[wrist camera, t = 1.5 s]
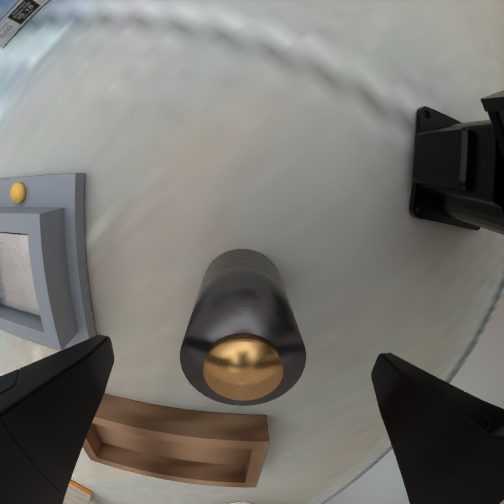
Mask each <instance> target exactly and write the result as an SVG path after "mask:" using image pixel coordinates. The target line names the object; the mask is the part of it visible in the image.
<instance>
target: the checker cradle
mask: <svg viewBox="0 0 504 504" xmlns="http://www.w3.org/2000/svg"><path fill="white" fill-rule="evenodd" d="M84 185H85V173H77V174H56V175H41V176H28V177H17V178H8V179H0V232H9V233H21V234H28V246H29V255H30V263H31V270H32V277H33V283H34V288H35V294H36V299H37V303H38V308H39V312H40V316H39V315H35V314H32V313H29V312H25V311H22V310H19V309H15V308H12V307H9V306H6V305H3V304H1V303H0V329H1V330H3V331H5V332H8V333H10V334H13V335H15V336H18V337H21V338H23V339H26V340H29V341H32V342H35V343H37V344H40V345H43V346H46V347H49V348H53V349H56V350H59V351H62V350H63V349H66V348H69V347H71V346H73V345H75V344H78V343H80V342H82V341H85V340H87V339H89V338H91V337H94V336H96V329H95V324H94V318H93V312H92V306H91V299H90V291H89V283H88V274H87V263H86V249H85V228H84Z"/></svg>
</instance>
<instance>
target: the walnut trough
mask: <svg viewBox="0 0 504 504" xmlns="http://www.w3.org/2000/svg"><path fill="white" fill-rule="evenodd" d="M268 444H269V435H268V426H267V416H266V415H240V414H223V413H211V412H201V411H192V410H184V409H177V408H170V407H164V406H158V405H152V404H147V403H142V402H137V401H132V400H128V399H123V398H119V397H115V396H111V395H107V394H104V395H103V398H102V400H101V403H100V405H99V408H98V410H97V412H96V415H95V417H94V419H93V422H92V424H91V427H90V429H89V431H88V434H87V436H86V439H85V441H84V444H83V448H84V450H85V451H86V453H87V455H88V456H89V458H90V460H93V461H96V462H99V463H102V464H105V465H108V466H112V467H115V468H119V469H122V470H126V471H130V472H133V473H138V474H142V475H146V476H151V477H156V478H161V479H166V480H172V481H178V482H185V483H192V484H201V485H211V486H225V487H256V486H257V483H258V480H259V476H260V473H261V469H262V466H263V462H264V459H265V455H266V452H267V448H268Z"/></svg>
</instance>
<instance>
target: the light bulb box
mask: <svg viewBox="0 0 504 504" xmlns="http://www.w3.org/2000/svg"><path fill="white" fill-rule="evenodd" d="M48 1H49V0H0V48H3V47H4V46H5V45H6V44H7V42H8V41H9V40H10V39H11V38H12V37H13V35H14V34H15V33H16V32H17V31H18V30H19V29H20V28H21V27H22V26H23V25H24V24H25V23H26V22H27V21H28V20H29V19H30V18H31V17H32V16H33V15H34V14H35V13H36V12H37V11H38V10H39V9H40V8H41V7H42V6H43V5H45V4H46V3H47V2H48Z"/></svg>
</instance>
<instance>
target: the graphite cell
mask: <svg viewBox="0 0 504 504" xmlns="http://www.w3.org/2000/svg"><path fill="white" fill-rule="evenodd" d="M180 362H181V367H182V370H183V372H184V374H185V376H186V378H187V379H188V381H189V382H190V383H191V384H192V386H193V387H194V388H196V389H197V390H198V391H199V392H200V393H202V394H203V395H205V396H207V397H209V398H211V399H213V400H215V401H218V402H221V403H225V404H230V405H241V406H246V405H256V404H261V403H265V402H268V401H271V400H273V399H275V398H277V397H279V396H281V395H283V394H284V393H286V392H287V391H288V390H289V389H291V388H292V387H293V386H294V385H295V383H296V382H297V381H298V379H299V378H300V376H301V374H302V373H303V370H304V367H305V362H306V351H305V346H304V343H303V340H302V338H301V335H300V332H299V329H298V326H297V324H296V321H295V318H294V315H293V312H292V310H291V307H290V304H289V301H288V299H287V296H286V293H285V290H284V288H283V285H282V282H281V279H280V277H279V274H278V271H277V269H276V267H275V266H274V264H273V263H272V262H271V261H270V260H269V259H268V258H267V257H265V256H264V255H262V254H261V253H258V252H256V251H253V250H248V249H236V250H231V251H228V252H225V253H223V254H222V255H220V256H219V257H217V258H216V259H215V260H214V261H213V262H212V263H211V264H210V266H209V267H208V269H207V271H206V274H205V277H204V280H203V282H202V285H201V288H200V291H199V294H198V297H197V300H196V303H195V306H194V309H193V312H192V315H191V318H190V321H189V324H188V327H187V331H186V334H185V337H184V340H183V343H182V346H181V351H180Z"/></svg>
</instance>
